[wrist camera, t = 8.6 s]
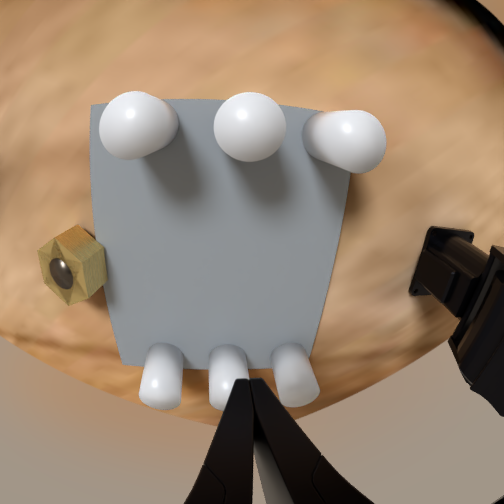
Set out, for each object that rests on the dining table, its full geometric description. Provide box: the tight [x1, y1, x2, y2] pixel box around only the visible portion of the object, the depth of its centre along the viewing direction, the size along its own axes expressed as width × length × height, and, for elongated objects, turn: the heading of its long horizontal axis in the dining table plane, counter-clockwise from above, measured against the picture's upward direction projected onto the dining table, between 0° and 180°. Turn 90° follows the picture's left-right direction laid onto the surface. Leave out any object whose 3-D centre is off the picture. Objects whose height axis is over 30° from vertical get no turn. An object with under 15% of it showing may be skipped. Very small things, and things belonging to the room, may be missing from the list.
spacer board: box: [90, 91, 386, 411], centre depth 17 cm, size 16×20×5 cm
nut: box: [38, 225, 108, 306], centre depth 16 cm, size 4×5×2 cm
